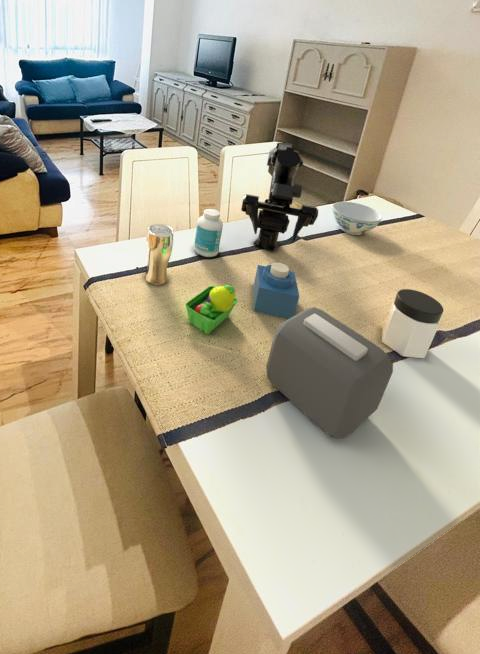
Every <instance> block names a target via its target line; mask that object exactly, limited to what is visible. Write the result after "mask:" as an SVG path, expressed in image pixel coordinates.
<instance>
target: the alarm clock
mask: <svg viewBox="0 0 480 654" xmlns="http://www.w3.org/2000/svg"><path fill="white" fill-rule="evenodd" d="M266 362H267V363H266V366H265V369H266V377H267V379H268V381H269V382H270V383H271V384H272V385H273V386H274V387H275V388H276V389H277V390H278V391H279V392H280V393H281V394H282V395H283V396H285V398H287V399H288V400H289V401H290V402H292V403H293V404H294V405H295V406H296V407H297V408H298V409H299V410H300V411H301V412H303V413H304V414H305V415H306V416H307V417H308V418H309V419H310V420H311V421H313V423H315V424H316V425H317V426H318V427H319V428H320V429H321V430H323V432H325V433H327V434H329V435H330V436H331V437H333V438H338V439H344V438H347V437H349V436H350V435H351V434H352V433H353V432H354V431H355V430H357V428H359V427H360V426H361V425H362V424H363V423H364V422H365V421H366V420H367V419H368V418H369V417H370V416H372V415H373V414H374V413H375V412H376V411H377V410H378V409H379V406H380V404H381V402H382V399H383V397H384V395H385V392H386V389H387V387H388V385H389V382H390V380H391V377H392V375H393V371H394V363H393V362H392V359H391V357H390V355H389V354H388V353H386V352H385V351H384V350H383V349H382V347H380V346H378V345H377V344H375V343H374V342H372V341H371V340H369V339H367V338H366V337H365V336H363V335H361V334H360V333H358V332H357V331H355V330H354V329H352V328H351V327H349V326H347V325H346V324H344V323H343V322H341V321H339V320H338V319H337V318H335V317H334V316H333V315H330V314H329V313H327V312H326V311H324V310H322V309H320V308H317V307H315V306H312V307H308V308H306V309H304V310H302V311H300V312H299V313H297V314H294V316H293V317H291V318H290V319H286V320H284V321H282V322H281V323H280V324H279V325H278V326H277V328H276V329H275V331H274V335H273V338H272V342H271V346H270V350H269V354H268V358H267V361H266Z"/></svg>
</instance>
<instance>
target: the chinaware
mask: <svg viewBox="0 0 480 654" xmlns="http://www.w3.org/2000/svg"><path fill="white" fill-rule="evenodd" d="M332 215H333V218H334V220H335V222H336V223H337V224H338V226H339V227H340V230H341V231H342V232H344V233H346V234H349V235H352V236H361V235H362V234H363V233H366V232H369V231H371V230H374V229H375V228H376V227H377V226H378V225H379V224H380V223H381V221H382V219H383V215H382V214H381V213H380V212H379V211H378V210H376V209H374V208H373V207H370V206H368V205H364V204H361V203H358V202H352V201H337V202H334V203H333V204H332Z"/></svg>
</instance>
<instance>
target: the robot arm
mask: <svg viewBox="0 0 480 654" xmlns="http://www.w3.org/2000/svg"><path fill="white" fill-rule="evenodd" d="M303 165H304V160H303V159H302V155H300V153H299V151H298V150H295V147H294V144H292V143H288V142H281V141H280V142H277V143H276V146H275V147H273V148H272V149H270V150H269V153H268V158H267V163H266V166H267V167H268V168H267V169H268V170H267V172H268V173H269V175H270V176H271V181H270V185H269V186H270V187H269V193H268V198H266V199H265V200H264V202H263V201H259V199H260V196H258V195H253V194H248V193H245V194H244V195H243V198H242V202H241V209H240V211H241V212H243V213H245V215H246V216H248V217H249V220H250V221H251V225H252V228H253V232H254V233H253V234H254V235H257V234H258V237H257V239H255V241H253V242H252V243H253V245H254V246H256V247H259V248H262V249H263V250H266V251H269V252H274V251H276V249H277V248H278V247H279V246H280V245H281V243H280V242H278V239H279V234H285V233H287V231H288V228H289V226H290V225H289V224H290V222H291V220H290V219H289V215H290V216H295V217H297V220H296V222H295V226H294V229H293V232H292V236H291V237H292V238H291V242H292V243H294V242H295V241H296V239H297V237H298V234H299V233H300V232H301V231H302V229H303V228H304V227H305V228H306V227H309V226H313V225H314V224H315V222H316V220H317V219H318V217H319V209H318V208H317V206H313V205H307V204H301V206H300V208H296V207H291V205H292V204H293V201H294V200H293V199H294V198H295V199H300V198H301V197H302V193H303V185H301V184H297V183H296V184H294V180H295V176H296V175H297V172H298V169H300V168H301V167H303ZM258 229H259V233H258Z"/></svg>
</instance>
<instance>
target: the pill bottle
mask: <svg viewBox="0 0 480 654" xmlns="http://www.w3.org/2000/svg"><path fill="white" fill-rule="evenodd" d="M220 217H221V213H220V212H219V210H217V209H214V208H213V209H212V208H207V209H204V210H203V214H202V215H201V216H199V217H198V219H197V223H196V231H195V238H194V245H193V249H194V251H195V253H196V254H197V255H199V256H201V257H204V258H205V257H206V258H214V257H216V256H217V255H218V254H219V251H220V246H221V245H220V244H221V239H222V233H223V229H224V228H223V227H224V222H223V221H222V220H221V218H220Z"/></svg>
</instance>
